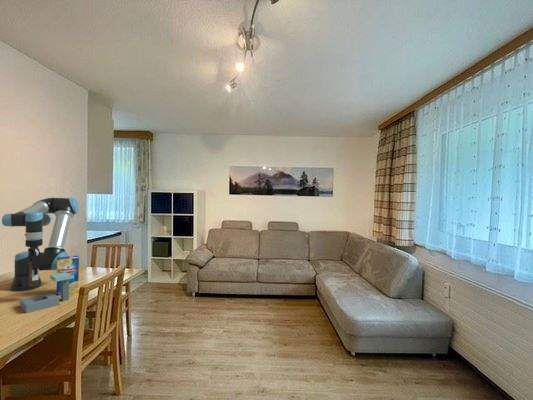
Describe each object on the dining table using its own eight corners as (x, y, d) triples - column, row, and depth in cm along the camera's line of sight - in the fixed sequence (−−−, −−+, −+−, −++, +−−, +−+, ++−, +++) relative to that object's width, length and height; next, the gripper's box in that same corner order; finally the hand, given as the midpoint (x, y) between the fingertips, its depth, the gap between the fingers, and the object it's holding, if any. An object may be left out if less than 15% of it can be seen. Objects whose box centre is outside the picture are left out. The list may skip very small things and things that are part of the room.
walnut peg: (27, 285, 158) (28, 261, 157) (37, 283, 162) (37, 259, 161) (30, 287, 155) (30, 262, 155) (39, 285, 159) (39, 261, 158)
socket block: (20, 306, 148) (20, 299, 148) (52, 299, 159) (52, 292, 159) (26, 313, 141) (26, 305, 141) (59, 304, 152) (59, 297, 152)
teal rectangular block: (49, 300, 157) (50, 274, 157) (65, 297, 163) (65, 272, 163) (54, 305, 152) (55, 278, 152) (70, 301, 158) (71, 275, 158)
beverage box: (78, 292, 171) (79, 257, 171) (56, 296, 165) (56, 259, 164) (77, 289, 177) (78, 255, 176) (56, 292, 170) (57, 257, 170)
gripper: (21, 237, 159) (21, 277, 160) (30, 242, 149) (29, 284, 150) (37, 236, 165) (37, 274, 167) (47, 240, 155) (46, 281, 156)
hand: (33, 278), depth 158 cm, fingers closed on walnut peg, 4 cm apart
